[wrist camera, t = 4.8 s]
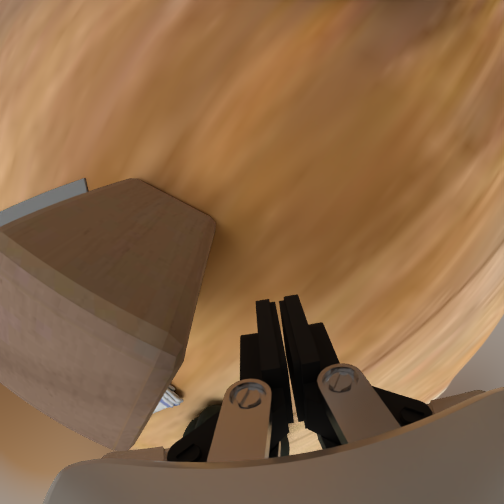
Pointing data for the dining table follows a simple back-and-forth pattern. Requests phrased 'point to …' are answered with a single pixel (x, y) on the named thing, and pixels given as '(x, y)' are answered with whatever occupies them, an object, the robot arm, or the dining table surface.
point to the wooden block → (100, 305)
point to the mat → (43, 201)
